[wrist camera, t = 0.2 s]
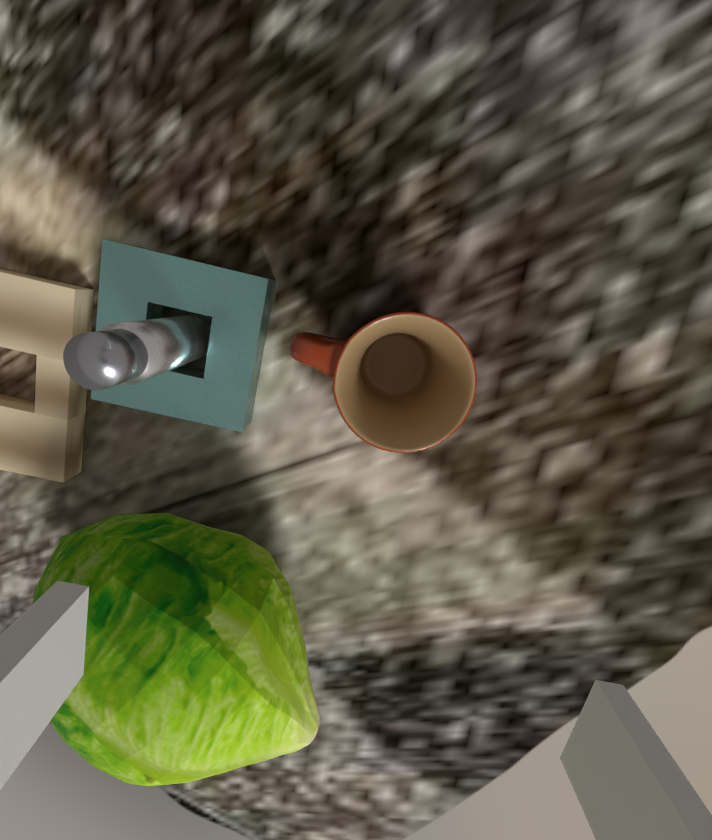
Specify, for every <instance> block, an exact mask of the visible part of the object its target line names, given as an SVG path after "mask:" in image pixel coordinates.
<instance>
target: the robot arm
mask: <svg viewBox="0 0 712 840" xmlns="http://www.w3.org/2000/svg"><path fill="white" fill-rule="evenodd" d="M88 597H89V586H84V585H79V584H73V583H68V582H62V581H57V582H56V583H55V584H53V585H52V586H51V587H50V588H49V589H48V590H47V591H46V592H45V593H44V594H43V595H42V596H41V597H40V598H39V599H38V600H37V601H36V602H35V603H33V604H32V605H31V606H30V607H29V608H28V609H27V610H26V611H25V612H24V613H23V614H22V615H21V616H20V617H19V618H18V619H17V620H16V621H15V622H13V623H12V624H11V625H10V626H9V627H8V628H7V629H6V630H5V631H4V632H3V633H2V634H1V635H0V790H1V788H2V787H3V785H4V784H5V783H6V781H7V780H8V779H9V777H10V776H11V774H12V773H13V772H14V770H15V769H16V767H17V766H18V765H19V763H20V762H21V761H22V759H23V758H24V756H25V755H26V754H27V752H28V751H29V750H30V748H31V747H32V745H33V744H34V743H35V741H36V740H37V738H38V737H39V736H40V734H41V733H42V732H43V730H44V729H45V727H46V726H47V725H48V723H49V722H50V721H51V719H52V718H53V716H54V715H55V714H56V712H57V711H58V709H59V708H60V707H61V705H62V704H63V703H64V701H65V700H66V698H67V697H68V696H69V694H70V693H71V691H72V690H73V689H74V687H75V686H76V685H77V683H78V682H79V680H80V679H81V678H82V676H83V675H84V660H85V644H86V628H87V612H88ZM560 759H561V761H562V763H563V765H564V768H565V770H566V772H567V775H568V777H569V779H570V781H571V784H572V786H573V788H574V791H575V793H576V795H577V797H578V800H579V802H580V804H581V806H582V809H583V811H584V813H585V816H586V818H587V820H588V823H589V825H590V827H591V829H592V831H593V834H594V836H595V839H596V840H712V815H711V814H710V812H709V811H708V809H707V808H706V806H705V805H704V803H703V802H702V800H701V799H700V797H699V796H698V794H697V793H696V791H695V790H694V788H693V787H692V786H691V784H690V783H689V781H688V780H687V778H686V777H685V775H684V774H683V772H682V771H681V769H680V768H679V766H678V765H677V763H676V762H675V761H674V759H673V758H672V756H671V755H670V753H669V752H668V750H667V749H666V748H665V746H664V744H663V743H662V741H661V740H660V739H659V737H658V736H657V734H656V733H655V731H654V730H653V728H652V727H651V725H650V724H649V722H648V721H647V719H646V718H645V716H644V715H643V714H642V712H641V711H640V709H639V708H638V706H637V705H636V703H635V702H634V700H633V699H632V697H631V696H630V695H629V693H628V691H627V690H626V688H625V687H624V686H623V685H620V684H614V683H609V682H603V681H598V680H595V682H594V685H593V687H592V689H591V691H590V693H589V696H588V698H587V700H586V702H585V704H584V707H583V709H582V711H581V713H580V715H579V718H578V720H577V722H576V724H575V727H574V728H573V731H572V733H571V735H570V737H569V739H568V742H567V744H566V746H565V748H564V750H563V753H562V755H561V757H560Z"/></svg>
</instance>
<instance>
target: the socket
mask: <svg viewBox="0 0 712 840" xmlns="http://www.w3.org/2000/svg"><path fill="white" fill-rule="evenodd" d="M275 282H276V280H272V279H268V278H264V277H260V276H255V275H251V274H247V273H243V272H239V271H235V270H231V269H227V268H222V267H218V266H214V265H210V264H206V263H202V262H198V261H193V260H189V259H185V258H181V257H177V256H173V255H169V254H165V253H160V252H156V251H152V250H148V249H144V248H140V247H136V246H131V245H127V244H123V243H119V242H114V241H110V240H105V239H102V251H101V265H100V278H99V292H98V306H97V320H96V331H99V330H100V329H101V328H103V327H104V326H106V325H109V324H114V323H122V322H131V321H140V320H149V319H158V318H163V313H164V306H168V307H172V308H177V309H181V310H185V311H189V312H194V313H198V314H202V315H206V316H211V317H212V323H211V330H210V337H209V344H208V351H207V358H206V365H205V370H203V369H198V368H194V367H189V366H185V365H182V366H179V367H177V368H174V369H172V370H169V371H167V372H164V373H161V374H159V375H156V376H154V377H151V378H149V379H146V380H144V381H141V382H139V383H136V384H133V385H120V384H119V385H116V386H113V387H111V388H108V389H105V390H100V391H94V390H91V399H93V400H98V401H102V402H107V403H111V404H116V405H120V406H125V407H129V408H134V409H138V410H143V411H148V412H152V413H157V414H161V415H166V416H170V417H175V418H179V419H184V420H188V421H193V422H197V423H202V424H206V425H211V426H216V427H220V428H225V429H229V430H234V431H238V432H243V431H244V430H245V428H246V427H247V426H248V425H249V424H250V422H251V418H252V413H253V407H254V401H255V396H256V390H257V384H258V379H259V373H260V367H261V362H262V356H263V350H264V344H265V339H266V333H267V327H268V322H269V316H270V310H271V305H272V299H273V293H274V288H275Z"/></svg>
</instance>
